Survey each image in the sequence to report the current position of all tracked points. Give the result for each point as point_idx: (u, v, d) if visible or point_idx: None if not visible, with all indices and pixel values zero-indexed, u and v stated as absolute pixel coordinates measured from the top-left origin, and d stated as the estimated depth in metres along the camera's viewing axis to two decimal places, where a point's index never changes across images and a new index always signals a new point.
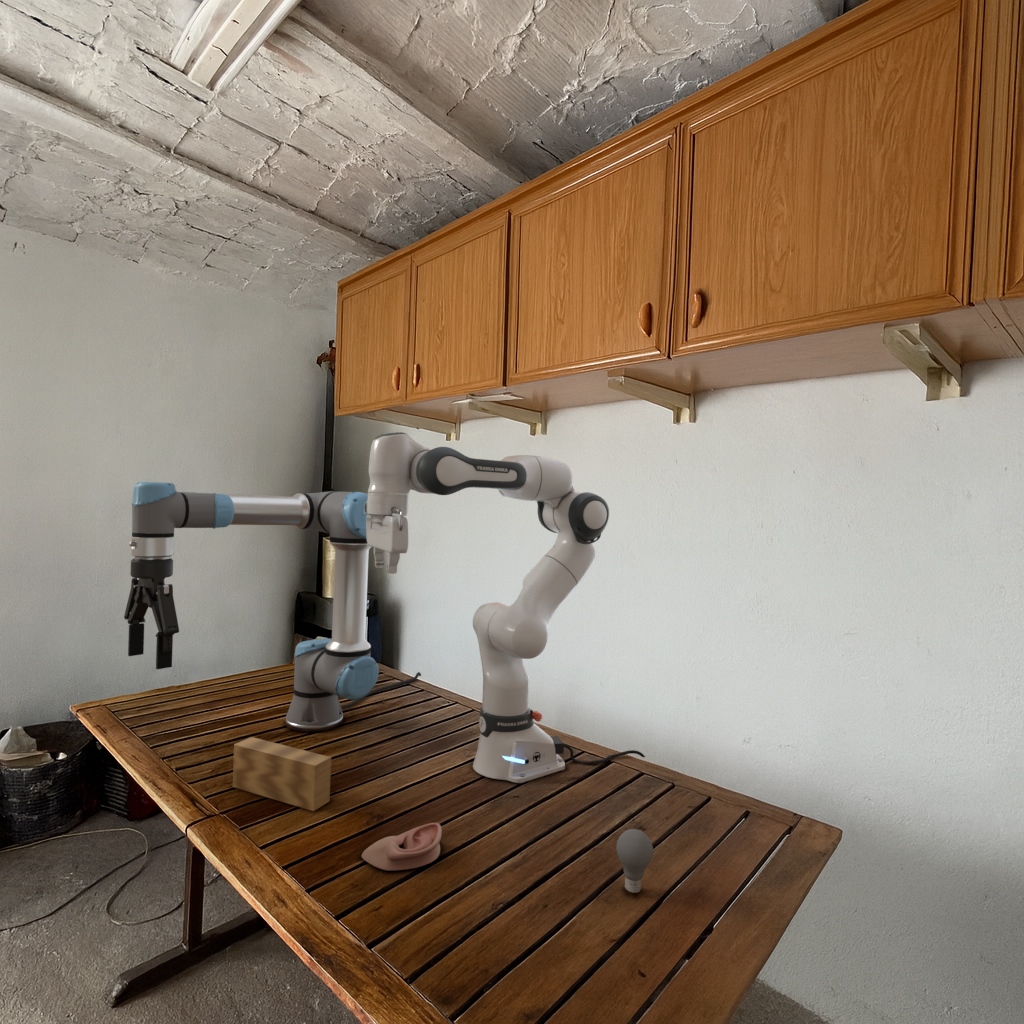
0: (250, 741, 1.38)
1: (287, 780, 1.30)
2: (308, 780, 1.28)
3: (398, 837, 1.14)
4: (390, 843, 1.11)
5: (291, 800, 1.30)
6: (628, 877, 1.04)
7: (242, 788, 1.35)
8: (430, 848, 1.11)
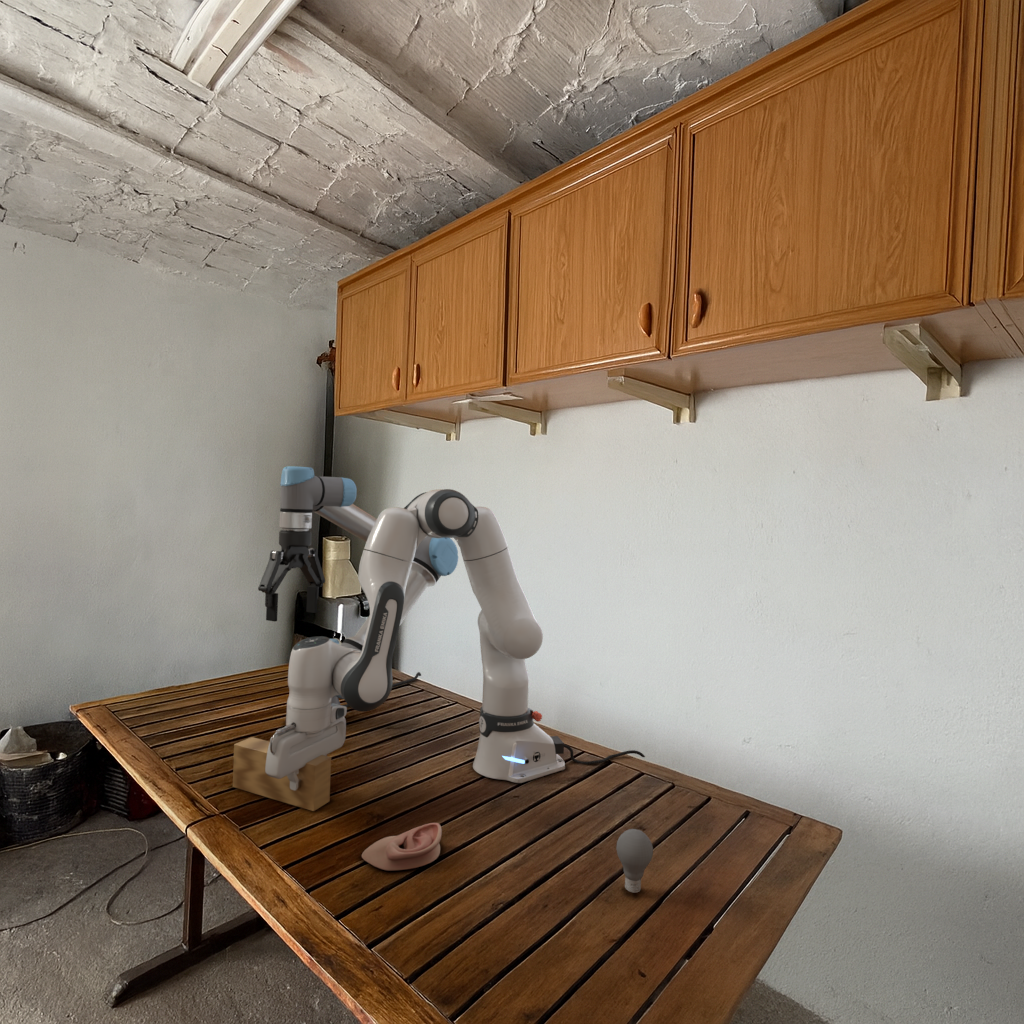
0: (250, 741, 1.38)
1: (287, 780, 1.30)
2: (308, 780, 1.28)
3: (398, 837, 1.14)
4: (390, 843, 1.11)
5: (290, 800, 1.30)
6: (628, 877, 1.04)
7: (242, 788, 1.35)
8: (430, 848, 1.11)
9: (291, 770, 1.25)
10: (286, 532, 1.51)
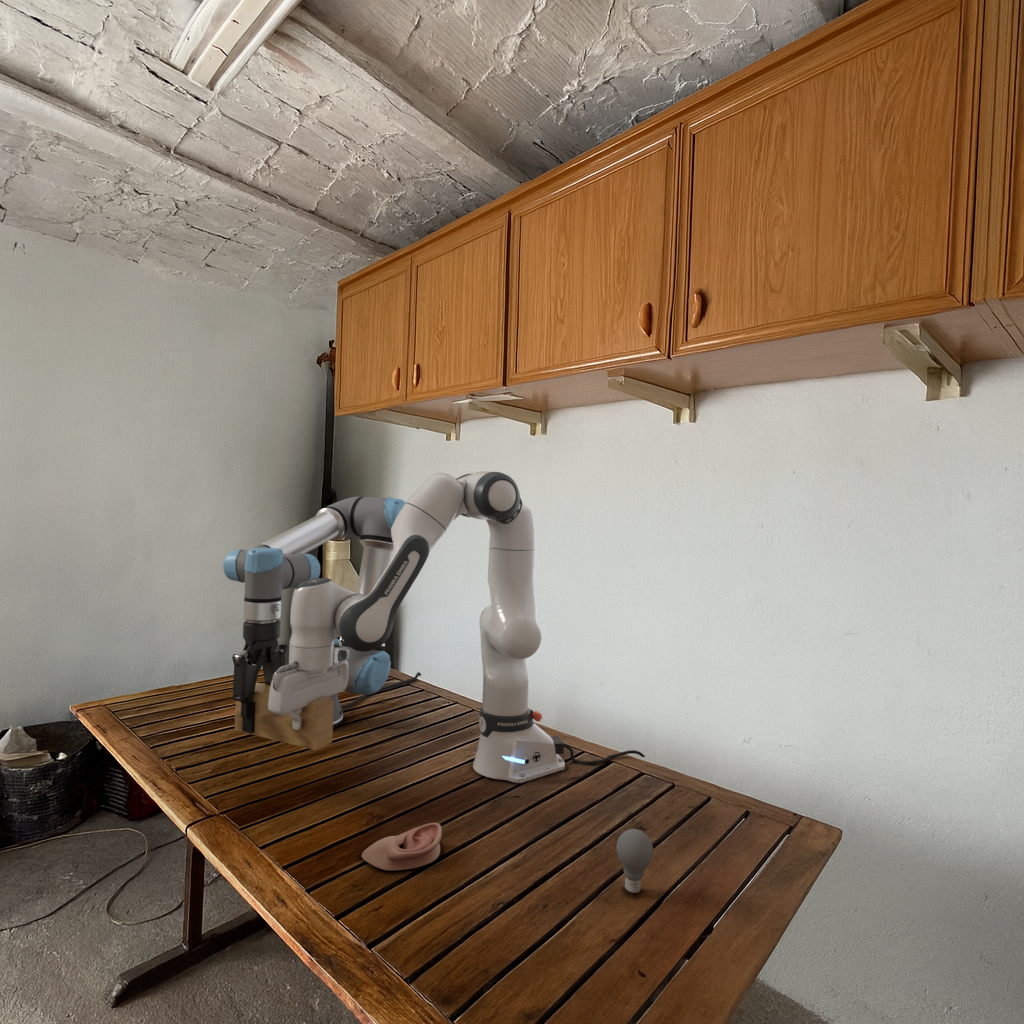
0: None
1: (289, 720, 1.30)
2: (310, 719, 1.28)
3: (398, 837, 1.14)
4: (390, 843, 1.11)
5: (293, 740, 1.30)
6: (628, 877, 1.04)
7: None
8: (430, 848, 1.11)
9: (294, 708, 1.24)
10: (251, 625, 1.33)
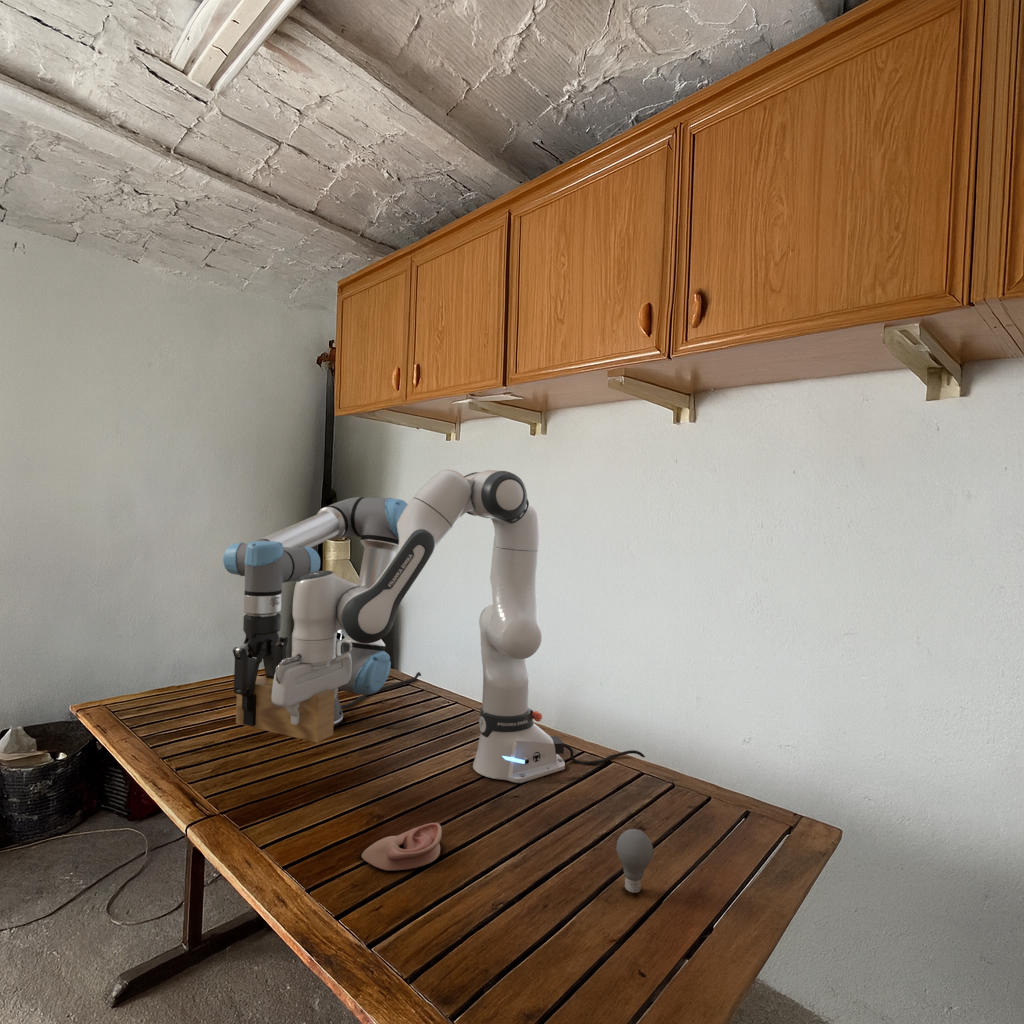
0: None
1: None
2: (311, 712, 1.28)
3: (398, 837, 1.14)
4: (390, 843, 1.11)
5: (294, 733, 1.30)
6: (628, 877, 1.04)
7: (245, 724, 1.35)
8: (430, 848, 1.11)
9: (297, 700, 1.24)
10: (251, 618, 1.33)
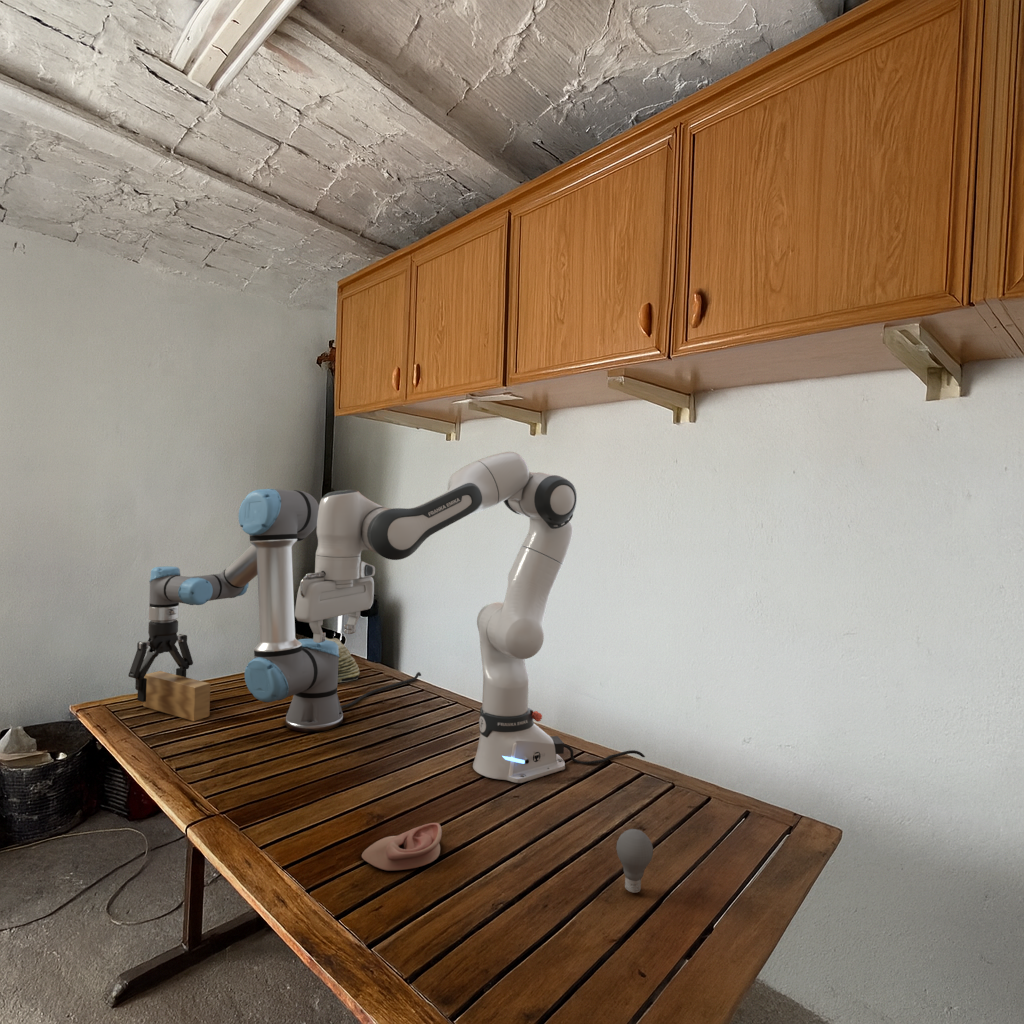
0: (157, 673, 1.85)
1: (177, 699, 1.77)
2: (190, 698, 1.74)
3: (398, 837, 1.14)
4: (390, 843, 1.11)
5: (179, 714, 1.76)
6: (628, 877, 1.04)
7: (149, 707, 1.82)
8: (430, 848, 1.11)
9: (321, 616, 1.22)
10: (152, 624, 1.80)
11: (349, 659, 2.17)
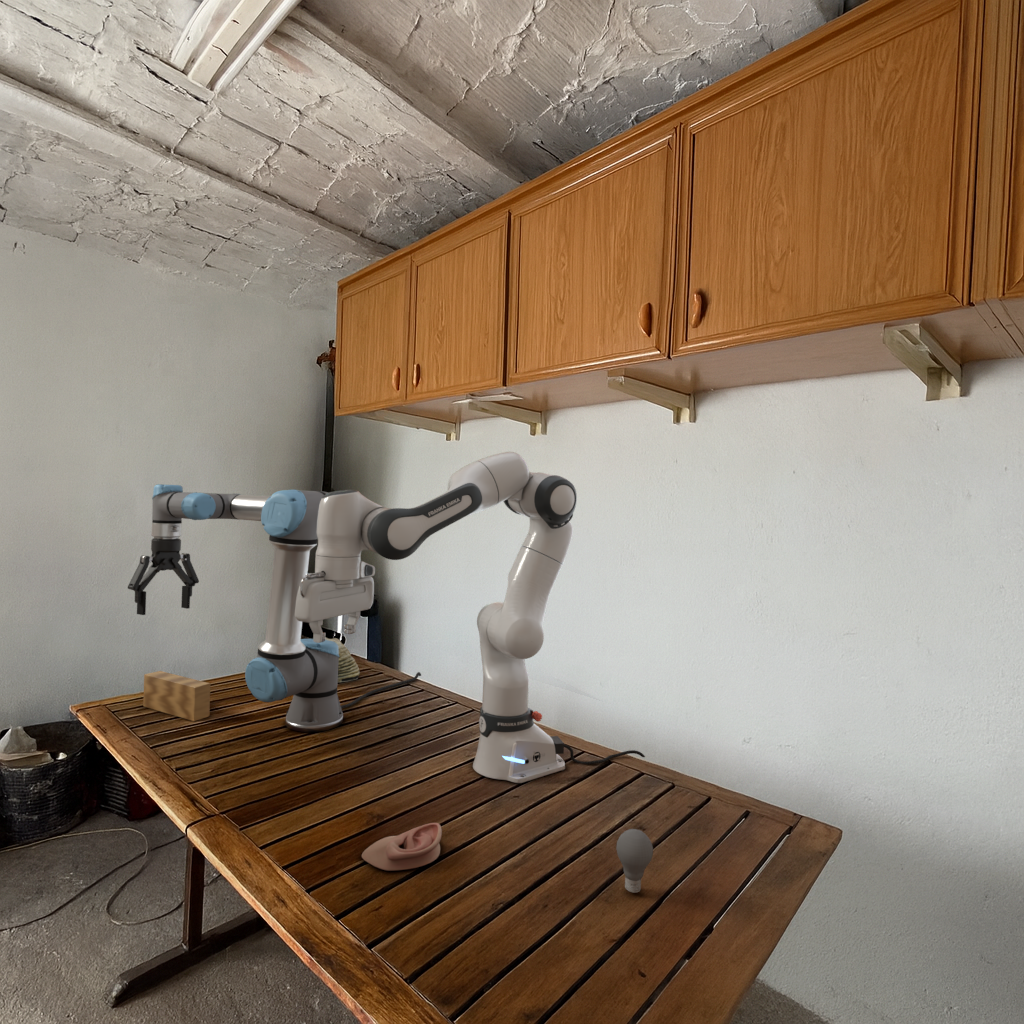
0: (157, 673, 1.85)
1: (177, 699, 1.77)
2: (190, 698, 1.74)
3: (398, 837, 1.14)
4: (390, 843, 1.11)
5: (179, 714, 1.76)
6: (628, 877, 1.04)
7: (149, 707, 1.82)
8: (430, 848, 1.11)
9: (321, 616, 1.22)
10: (155, 540, 1.79)
11: (349, 659, 2.17)
